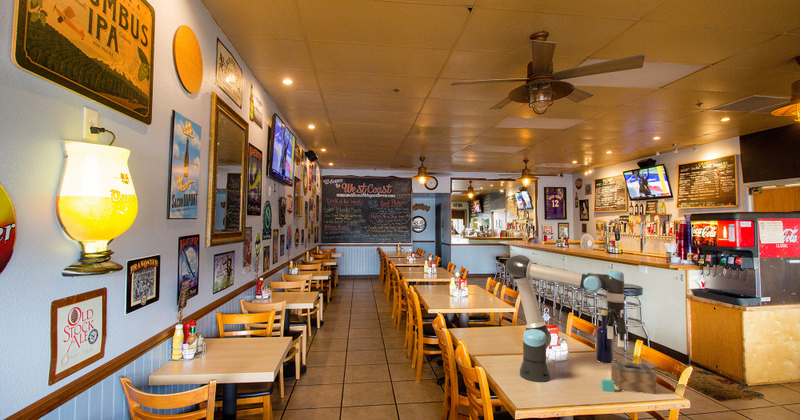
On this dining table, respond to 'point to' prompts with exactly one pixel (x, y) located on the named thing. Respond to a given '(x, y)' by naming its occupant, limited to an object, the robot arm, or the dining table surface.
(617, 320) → the robot arm
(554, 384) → the dining table surface
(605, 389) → the teal flat square block
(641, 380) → the coin box
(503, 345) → the dining table surface
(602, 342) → the bottle
